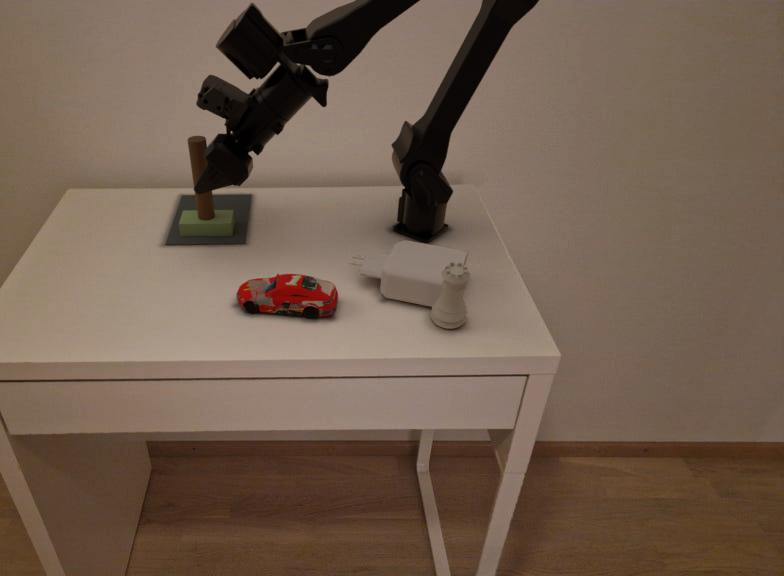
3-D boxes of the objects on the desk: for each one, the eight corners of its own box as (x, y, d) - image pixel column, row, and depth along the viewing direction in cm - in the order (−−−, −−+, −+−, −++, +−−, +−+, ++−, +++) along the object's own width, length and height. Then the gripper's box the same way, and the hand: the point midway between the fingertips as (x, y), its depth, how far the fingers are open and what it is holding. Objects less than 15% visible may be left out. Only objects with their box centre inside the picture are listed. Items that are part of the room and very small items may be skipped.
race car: (232, 313, 76) (229, 286, 74) (243, 289, 80) (241, 264, 78) (333, 323, 74) (334, 296, 72) (339, 298, 78) (340, 272, 76)
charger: (359, 258, 86) (463, 278, 82) (339, 291, 80) (451, 314, 75) (361, 229, 83) (469, 247, 79) (340, 261, 77) (457, 283, 72)
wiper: (234, 222, 95) (226, 132, 86) (232, 236, 91) (223, 144, 82) (184, 223, 95) (171, 133, 86) (180, 236, 91) (165, 145, 82)
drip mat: (244, 244, 90) (244, 242, 90) (165, 245, 90) (165, 243, 90) (251, 195, 103) (251, 194, 103) (182, 196, 103) (181, 195, 103)
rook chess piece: (426, 308, 76) (433, 258, 70) (461, 304, 76) (470, 254, 70) (434, 332, 73) (441, 282, 67) (470, 329, 73) (481, 278, 67)
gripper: (244, 38, 83) (179, 116, 91) (212, 75, 69) (138, 164, 77) (300, 99, 88) (233, 168, 96) (281, 145, 73) (204, 222, 82)
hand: (204, 178), depth 88 cm, fingers open, 9 cm apart
